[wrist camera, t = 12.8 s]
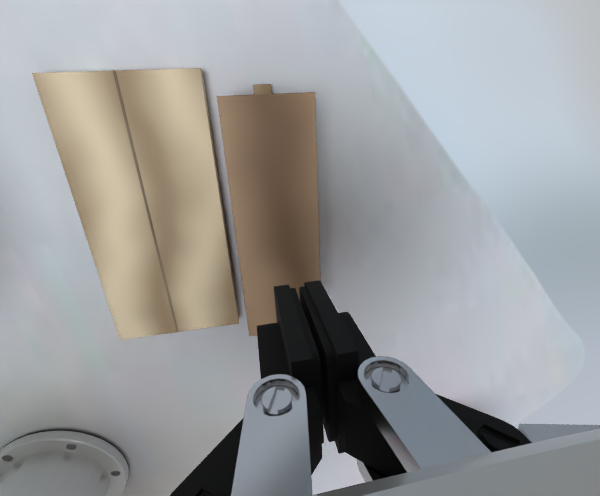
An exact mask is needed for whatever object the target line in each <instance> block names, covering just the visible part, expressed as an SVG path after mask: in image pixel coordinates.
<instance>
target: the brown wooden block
mask: <svg viewBox="0 0 600 496" xmlns="http://www.w3.org/2000/svg"><path fill="white" fill-rule="evenodd" d="M217 102H218V109H219V117H220V124H221V131H222V139H223V146H224V153H225V161H226V168H227V175H228V182H229V190H230V197H231V204H232V212H233V219H234V226H235V234H236V241H237V248H238V256H239V263H240V270H241V278H242V285H243V292H244V300H245V307H246V314H247V322H248V329H249V336H254V335H257V325H264V324H270V323H277V318H276V308H275V297H274V286H281V285H288V284H289V286H290V288H296V291H297V294H298V297H299V300H300V295H299V287H303V286H304V283H305V282H310V281H318V280H320V282H321V279H320V246H319V212H318V178H317V144H316V110H315V92H309V93H284V94H258V95H233V96H217Z"/></svg>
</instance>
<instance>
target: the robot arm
mask: <svg viewBox="0 0 600 496" xmlns="http://www.w3.org/2000/svg"><path fill="white" fill-rule="evenodd" d="M299 295H300V300H299V297H298V294H297V291H296V288H290V286H289V284H288V285H281V286H274V297H275V308H276V318H277V323H270V324H264V325H257V336H258V348H259V360H260V372H261V380H259V381H258V382H257V383H255V384H254V386H253V387H252V388H251V389H250V391H249V394H248V396H247V401H246V407H245V413H244V418H243V419H242V420H241V421H240V422H239V423H238V424H237V425H236V426H235V427H234V429H233V430H232V431H231V432H230V433H229V434H228V435H227V436H226V437H225V438H224V439H223V440H222V441H221V442H220V443H219V444H218V445H217V446H216V447H215V448H214V449H213V451H212V452H211V453H210V454H209V455H208V456H207V457H206V458H205V459H204V460H203V461H202V462H201V463H200V464H199V465H198V466H197V467H196V468H195V469H194V470H193V471H192V473H191V474H190V475H189V476H188V477H187V478H186V479H185V480H184V481H183V482H182V483H181V484H180V485H179V486H178V487H177V488H176V489H175V490H174V491H173V492H172V494H171V495H170V496H600V425H557V424H555V425H554V424H552V425H551V424H519V428H518V429H516V428H515V427H514V426H512V425H510V424H508V423H506V422H504V421H502V420H500V419H498V418H495V417H493V416H490V415H488V414H485V413H483V412H480V411H477V410H475V409H472V408H470V407H467V406H465V405H462V404H460V403H457V402H455V401H452V400H450V399H447V398H445V397H442V396H439V395H437V394H435V393H434V392H433V391H432V390H431V389H430V388H429V387H428V386H427V385H426V384H425V383H424V382H423V381H422V380H421V379H420V378H419V377H418V376H417V375H416V374H415V373H414V372H413V371H412V369H411V368H410V367H408V366H407V365H406V364H405V363H403V362H401V361H399V360H397V359H394V358H390V357H383V356H378V357H376V356H375V355H374V353H373V351H372V350H371V348H370V346H369V345H368V343H367V341H366V340H365V338H364V337H363V335H362V333H361V332H360V330H359V328H358V327H357V325H356V324H355V322H354V320H353V319H352V317H351V315H350V314H349V313H348V312H343V313H338V312H337V311H336V309H335V307H334V305H333V303H332V302H331V300H330V298H329V296H328V294H327V292H326V291H325V289H324V287H323V285H322V283H321V282H320V280H318V281H310V282H305V283H304V286H303V287H299ZM323 424H324V428H325V431H326V435H327V438H328V441H329V442H331V441H335V443H336V446H337V449H338V452H339V453H343V452H346V453H348V454H349V455H351V456H353V457H354V458H356V459H357V465H358V468H359V471H360V473H361V475H362V477H363V479H364V481H365V483H361V484H357V485H353V486H349V487H345V488H341V489H337V490H332V491H328V492H324V493H320V494H316V495H312V480H311V475H312V473H313V472H314V470H315V468H316V467H317V465H318V463H319V462H320V460H321V459H322V443H324V435H323ZM128 477H129V468H128V465H127V462H126V460H125V458H124V457H123V455H122V454H121V453H120V452H119V451H118V450H117V449H116V448H115V447H114V446H112V445H111V444H109V443H108V442H106V441H104V440H102V439H100V438H97V437H95V436H92V435H88V434H84V433H80V432H72V431H48V432H40V433H35V434H31V435H27V436H24V437H22V438H19V439H17V440H14V441H13V442H11V443H10V444H8V445H6V446H5V447H3V448H2V449H1V450H0V496H122V494H123V492H124V490H125V487H126V484H127V480H128Z"/></svg>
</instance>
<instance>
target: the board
mask: <svg viewBox="0 0 600 496" xmlns="http://www.w3.org/2000/svg"><path fill="white" fill-rule="evenodd" d="M32 74H33V77H34V80H35V83H36V86H37V89H38V92H39V95H40V98H41V101H42V104H43V108H44V111H45V114H46V117H47V120H48V123H49V126H50V129H51V132H52V135H53V138H54V141H55V144H56V147H57V150H58V153H59V156H60V159H61V162H62V165H63V168H64V171H65V174H66V177H67V180H68V183H69V186H70V189H71V192H72V195H73V198H74V201H75V204H76V207H77V210H78V213H79V217H80V220H81V223H82V226H83V229H84V232H85V235H86V238H87V241H88V244H89V247H90V250H91V253H92V256H93V259H94V262H95V265H96V268H97V271H98V274H99V277H100V280H101V283H102V286H103V289H104V292H105V295H106V298H107V301H108V304H109V307H110V310H111V313H112V316H113V319H114V322H115V325H116V329H117V332H118V335H119V338H120V340H123V339H131V338H138V337H145V336H152V335H159V334H166V333H174V332H181V331H188V330H195V329H202V328H209V327H217V326H224V325H231V324H238V323H239V313H238V306H237V299H236V292H235V286H234V279H233V272H232V266H231V259H230V252H229V246H228V239H227V232H226V225H225V219H224V212H223V205H222V199H221V192H220V185H219V178H218V172H217V165H216V158H215V152H214V145H213V138H212V131H211V125H210V118H209V111H208V105H207V98H206V91H205V84H204V78H203V71H202V70H201V69H200V68H192V69H158V70H123V71H88V72H54V73H32ZM258 94H272V93H271V84H261V85H254V95H258Z"/></svg>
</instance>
